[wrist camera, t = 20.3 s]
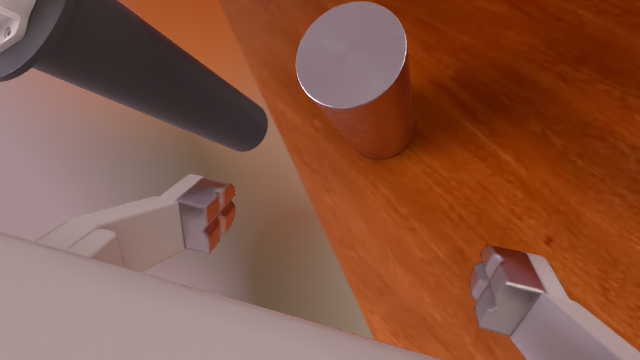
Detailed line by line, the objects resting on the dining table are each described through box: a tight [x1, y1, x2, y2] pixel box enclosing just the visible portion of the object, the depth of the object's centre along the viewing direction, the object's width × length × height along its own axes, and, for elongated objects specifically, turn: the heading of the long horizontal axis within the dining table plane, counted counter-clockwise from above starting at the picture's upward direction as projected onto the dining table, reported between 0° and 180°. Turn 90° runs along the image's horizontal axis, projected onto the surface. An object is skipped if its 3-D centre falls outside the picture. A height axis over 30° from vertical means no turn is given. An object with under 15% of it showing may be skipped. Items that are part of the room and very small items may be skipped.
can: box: [296, 1, 414, 159], centre depth 21 cm, size 6×6×12 cm
